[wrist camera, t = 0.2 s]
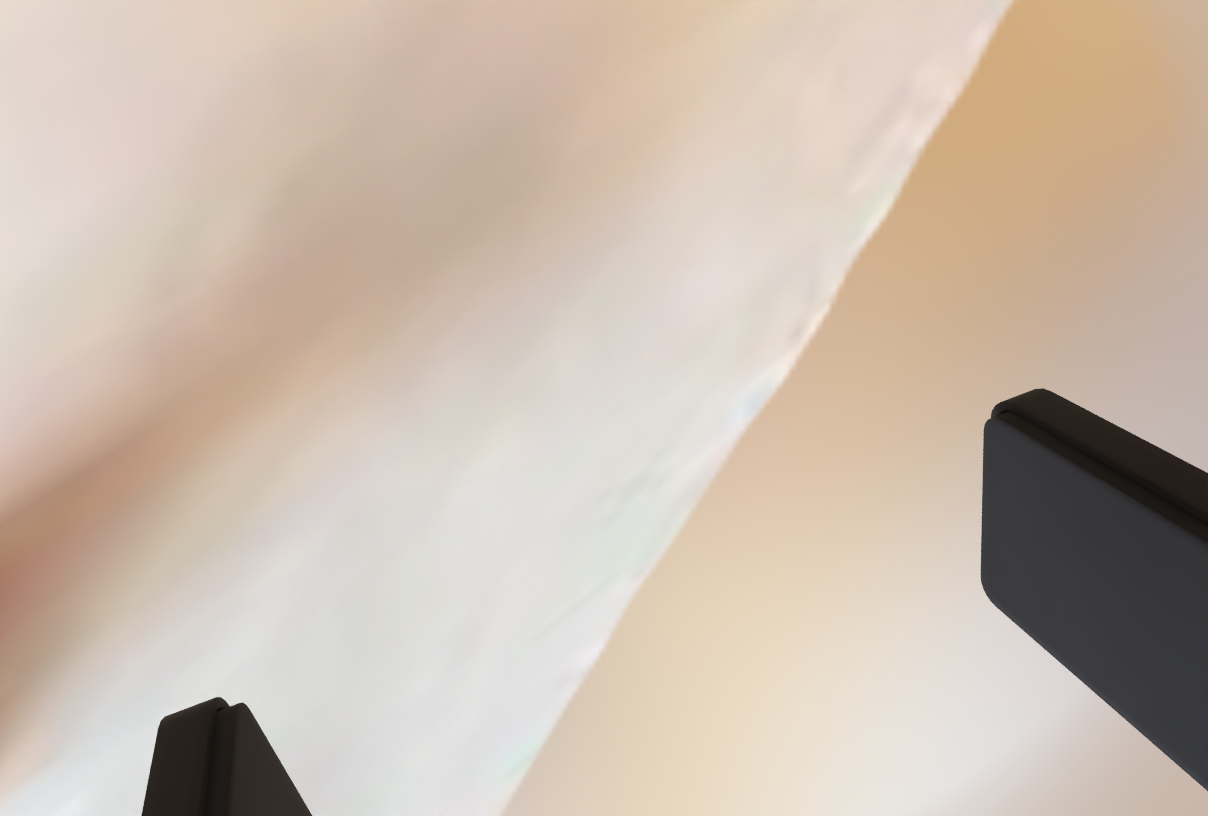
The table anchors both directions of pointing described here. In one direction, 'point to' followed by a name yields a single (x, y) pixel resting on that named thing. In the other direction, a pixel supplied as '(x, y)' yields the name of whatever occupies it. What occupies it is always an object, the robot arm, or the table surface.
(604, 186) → the table surface
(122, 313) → the table surface
